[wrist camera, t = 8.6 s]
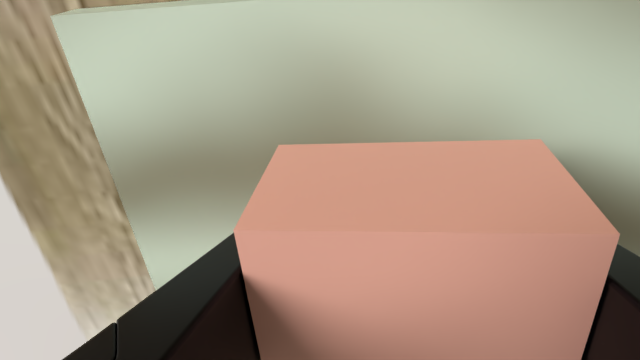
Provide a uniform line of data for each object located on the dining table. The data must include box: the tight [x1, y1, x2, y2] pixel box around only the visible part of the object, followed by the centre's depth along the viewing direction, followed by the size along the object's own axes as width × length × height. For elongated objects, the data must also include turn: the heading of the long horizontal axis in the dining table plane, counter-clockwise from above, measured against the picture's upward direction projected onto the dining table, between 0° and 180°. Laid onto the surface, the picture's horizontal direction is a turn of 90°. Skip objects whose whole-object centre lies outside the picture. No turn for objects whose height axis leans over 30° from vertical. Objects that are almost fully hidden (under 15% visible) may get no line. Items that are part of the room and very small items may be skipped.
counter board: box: [51, 0, 640, 290], centre depth 15 cm, size 24×16×1 cm, turn 5°
